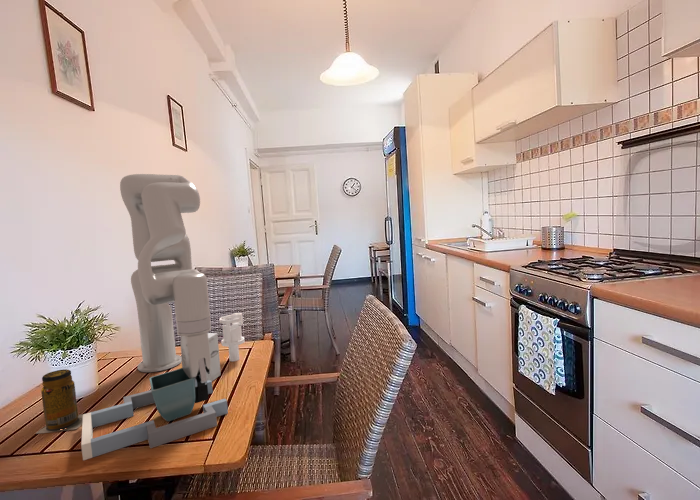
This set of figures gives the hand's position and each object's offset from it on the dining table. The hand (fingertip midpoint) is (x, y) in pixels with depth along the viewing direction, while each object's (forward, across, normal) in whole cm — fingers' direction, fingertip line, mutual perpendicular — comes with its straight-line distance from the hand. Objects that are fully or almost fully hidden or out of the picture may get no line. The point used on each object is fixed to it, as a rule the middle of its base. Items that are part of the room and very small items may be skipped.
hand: (200, 400), depth 92 cm
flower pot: (+2, 0, -5) cm, 6 cm away
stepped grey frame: (+2, 0, -10) cm, 10 cm away
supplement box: (+2, -16, +4) cm, 17 cm away
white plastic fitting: (+2, -26, +16) cm, 31 cm away
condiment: (+2, -13, -27) cm, 30 cm away
